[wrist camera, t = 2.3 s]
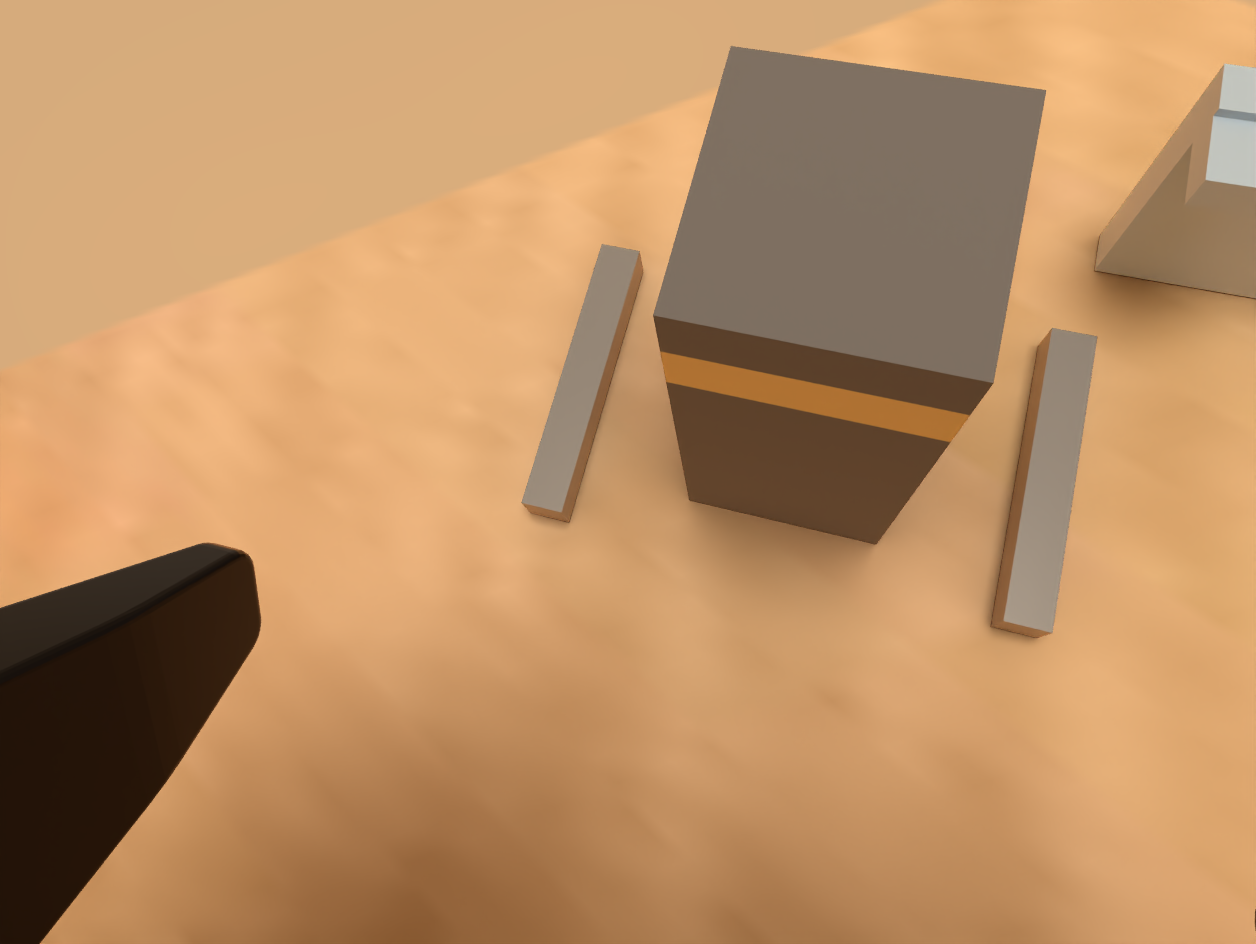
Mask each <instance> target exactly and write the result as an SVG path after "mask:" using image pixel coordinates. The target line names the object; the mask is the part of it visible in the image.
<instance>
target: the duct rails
mask: <svg viewBox="0 0 1256 944" xmlns="http://www.w3.org/2000/svg"><path fill="white" fill-rule="evenodd" d="M1095 271H1101V272H1106V273H1112V274H1118V275H1124V276H1129V277H1135V278H1141V279H1147V280H1153V281H1158V282H1164V283H1170V284H1176V285H1181V286H1187V287H1193V288H1199V289H1204V290H1210V291H1216V292H1222V293H1227V294H1233V295H1239V296H1245V297H1250V298H1256V68H1253V67H1245V66H1238V65H1230V64H1224V65H1223V67H1222V68H1221V69H1220V71H1219V72H1218V73H1217V75H1216V76H1215V78H1214V79H1213V80H1212V82H1211V83H1210V84H1209V86H1208V87H1207V89H1206V90H1205V91H1204V93H1203V94H1202V95H1201V97H1200V98H1199V100H1198V101H1197V102H1196V104H1195V105H1194V107H1193V108H1192V109H1191V111H1190V112H1189V113H1188V115H1187V116H1186V118H1185V119H1184V120H1183V122H1182V123H1181V124H1180V126H1179V127H1178V129H1177V130H1176V131H1175V133H1174V134H1173V135H1172V137H1171V138H1170V140H1169V141H1168V142H1167V144H1166V145H1165V146H1164V148H1163V149H1162V151H1161V152H1160V153H1159V155H1158V156H1157V157H1156V159H1155V160H1154V162H1153V163H1152V164H1151V166H1150V167H1149V168H1148V170H1147V171H1146V173H1145V174H1144V175H1143V177H1142V178H1141V179H1140V181H1139V182H1138V184H1137V185H1136V186H1135V188H1134V189H1133V190H1132V192H1131V193H1130V195H1129V196H1128V197H1127V199H1126V200H1125V201H1124V203H1123V204H1122V206H1121V207H1120V208H1119V210H1118V211H1117V213H1116V214H1115V215H1114V217H1113V218H1112V219H1111V221H1110V222H1109V224H1108V225H1107V226H1106V228H1105V229H1104V230H1103V232H1102V233H1101V235H1100V238H1099V244H1098V251H1097V257H1096V264H1095ZM642 274H643V266H642V261H641V256H640V251H636V250H631V249H625V248H620V247H614V246H609V245H604V244H602V245H601V249H600V252H599V255H598V258H597V261H596V265H595V268H594V271H593V274H592V277H591V281H590V284H589V287H588V290H587V294H586V297H585V300H584V303H583V306H582V310H581V313H580V316H579V319H578V322H577V326H576V329H575V332H574V335H573V339H572V342H571V345H570V348H569V351H568V355H567V358H566V361H565V364H564V367H563V371H562V374H561V377H560V380H559V384H558V387H557V390H556V393H555V396H554V400H553V403H552V406H551V409H550V412H549V416H548V419H547V422H546V425H545V429H544V432H543V435H542V438H541V441H540V445H539V448H538V451H537V454H536V457H535V461H534V464H533V467H532V470H531V474H530V477H529V480H528V483H527V486H526V490H525V493H524V496H523V499H522V502H521V503H522V504H523V505H524V506H525V507H526V508H527V509H528V510H529V512H530V513H533V514H537V515H542V516H546V517H550V518H554V519H558V520H562V521H566V522H569V521H570V517H571V514H572V511H573V507H574V504H575V500H576V497H577V494H578V490H579V487H580V484H581V480H582V477H583V473H584V470H585V467H586V463H587V460H588V456H589V453H590V450H591V446H592V443H593V440H594V436H595V433H596V429H597V426H598V423H599V419H600V416H601V412H602V409H603V406H604V402H605V399H606V396H607V392H608V389H609V385H610V382H611V379H612V375H613V372H614V369H615V365H616V362H617V358H618V355H619V352H620V348H621V345H622V341H623V338H624V335H625V331H626V328H627V325H628V321H629V318H630V314H631V311H632V308H633V304H634V301H635V297H636V294H637V291H638V287H639V284H640V281H641V277H642ZM1096 342H1097V336H1092V335H1087V334H1081V333H1076V332H1071V331H1065V330H1060V329H1055V328H1052V329H1051V330H1050V331H1049V333H1048V334H1047V335H1046V337H1045V338H1044V339H1043V340H1042V342H1041V343H1040V344H1039V346H1038V351H1037V357H1036V362H1035V368H1034V374H1033V380H1032V386H1031V392H1030V398H1029V404H1028V410H1027V416H1026V422H1025V428H1024V433H1023V439H1022V445H1021V451H1020V457H1019V463H1018V469H1017V475H1016V481H1015V487H1014V493H1013V498H1012V504H1011V510H1010V516H1009V522H1008V528H1007V534H1006V540H1005V546H1004V552H1003V558H1002V564H1001V569H1000V575H999V581H998V587H997V593H996V599H995V605H994V611H993V617H992V623H991V627H995V628H999V629H1003V630H1007V631H1011V632H1015V633H1019V634H1023V635H1027V636H1031V637H1036V638H1039V637H1042V636H1045V635H1048V634H1051V633H1052V632H1053V626H1054V619H1055V613H1056V606H1057V599H1058V593H1059V586H1060V580H1061V573H1062V566H1063V560H1064V553H1065V547H1066V540H1067V533H1068V527H1069V520H1070V514H1071V507H1072V500H1073V494H1074V487H1075V481H1076V474H1077V468H1078V461H1079V454H1080V448H1081V441H1082V435H1083V428H1084V421H1085V415H1086V408H1087V402H1088V395H1089V388H1090V382H1091V375H1092V369H1093V362H1094V355H1095V349H1096Z"/></svg>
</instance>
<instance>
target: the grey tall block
mask: <svg viewBox="0 0 1256 944" xmlns="http://www.w3.org/2000/svg"><path fill="white" fill-rule="evenodd" d="M1045 95H1046V90H1041V89H1034V88H1026V87H1019V86H1012V85H1005V84H998V83H991V82H984V81H976V80H969V79H962V78H955V77H948V76H941V75H934V74H926V73H919V72H912V71H905V70H898V69H891V68H884V67H876V66H869V65H862V64H855V63H848V62H841V61H834V60H827V59H819V58H812V57H805V56H798V55H791V54H784V53H777V52H769V51H762V50H755V49H748V48H741V47H733V46H731V48H730V51H729V55H728V59H727V62H726V65H725V69H724V72H723V75H722V79H721V82H720V86H719V89H718V93H717V96H716V100H715V103H714V107H713V110H712V114H711V117H710V121H709V124H708V127H707V131H706V134H705V138H704V141H703V145H702V148H701V152H700V155H699V159H698V162H697V166H696V169H695V172H694V176H693V179H692V183H691V186H690V190H689V193H688V197H687V200H686V204H685V207H684V211H683V214H682V217H681V221H680V224H679V228H678V231H677V235H676V238H675V242H674V245H673V249H672V252H671V256H670V259H669V263H668V266H667V269H666V273H665V276H664V280H663V283H662V287H661V290H660V294H659V297H658V301H657V304H656V308H655V311H654V314H653V317H654V322H655V327H656V332H657V337H658V342H659V347H660V352H661V358H662V363H663V368H664V373H665V378H666V383H667V388H668V393H669V399H670V404H671V409H672V414H673V419H674V424H675V429H676V434H677V439H678V445H679V450H680V455H681V460H682V465H683V470H684V475H685V480H686V485H687V491H688V496H689V500H690V501H695V502H699V503H703V504H707V505H711V506H716V507H720V508H724V509H728V510H733V511H737V512H741V513H745V514H750V515H754V516H758V517H762V518H767V519H771V520H775V521H779V522H783V523H788V524H792V525H796V526H800V527H805V528H809V529H813V530H817V531H822V532H826V533H830V534H834V535H839V536H843V537H847V538H851V539H856V540H860V541H864V542H868V543H872V544H877V543H878V541H879V540H880V539H881V537H882V536H883V534H884V533H885V532H886V530H887V529H888V528H889V526H890V525H891V523H892V522H893V521H894V519H895V518H896V517H897V515H898V514H899V512H900V511H901V510H902V508H903V507H904V506H905V504H906V503H907V501H908V500H909V499H910V497H911V496H912V494H913V493H914V492H915V490H916V489H917V488H918V486H919V485H920V483H921V482H922V481H923V479H924V478H925V477H926V475H927V474H928V472H929V471H930V470H931V468H932V467H933V466H934V464H935V463H936V461H937V460H938V459H939V457H940V456H941V455H942V453H943V452H944V450H945V449H946V448H947V446H948V445H949V444H950V442H951V441H952V439H953V438H954V437H955V435H956V434H957V433H958V431H959V430H960V428H961V427H962V426H963V424H964V423H965V422H966V420H967V419H968V417H969V416H970V415H971V413H972V412H973V410H974V409H975V408H976V406H977V405H978V404H979V402H980V401H981V399H982V398H983V397H984V395H985V394H986V393H987V391H988V390H989V388H990V387H991V386H992V384H993V383H994V377H995V372H996V366H997V360H998V355H999V349H1000V344H1001V338H1002V333H1003V327H1004V322H1005V316H1006V311H1007V305H1008V300H1009V294H1010V288H1011V283H1012V277H1013V272H1014V266H1015V261H1016V255H1017V250H1018V244H1019V239H1020V233H1021V228H1022V222H1023V216H1024V211H1025V205H1026V200H1027V194H1028V189H1029V183H1030V178H1031V172H1032V167H1033V161H1034V156H1035V150H1036V144H1037V139H1038V133H1039V128H1040V122H1041V117H1042V111H1043V106H1044V100H1045Z"/></svg>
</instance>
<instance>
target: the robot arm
mask: <svg viewBox="0 0 1256 944" xmlns="http://www.w3.org/2000/svg"><path fill="white" fill-rule="evenodd" d="M260 627H261V614H260V607H259V600H258V592H257V585H256V578H255V571H254V565H253V561H252V560H251V558H250V556H249V555H248V554H247V553H245V552H244V551H242V550H238V549H235V548H231V547H227V546H223V545H219V544H215V543H201V544H198V545H195V546H192V547H188V548H185V549H182V550H179V551H176V552H173V553H170V554H167V555H163V556H160V557H157V558H154V559H151V560H148V561H145V562H142V563H139V564H135V565H132V566H129V567H126V568H123V569H120V570H117V571H114V572H111V573H107V574H104V575H101V576H98V577H95V578H92V579H89V580H86V581H83V582H79V583H76V584H73V585H70V586H67V587H64V588H61V589H58V590H55V591H51V592H48V593H45V594H42V595H39V596H36V597H33V598H30V599H27V600H23V601H20V602H17V603H14V604H11V605H8V606H5V607H2V608H0V944H40V943H41V941H42V940H43V939H44V938H45V936H46V935H47V934H48V933H49V931H50V930H51V929H52V927H53V926H54V925H55V924H56V922H57V921H58V920H59V919H60V917H61V916H62V915H63V913H64V912H65V911H66V910H67V908H68V907H69V906H70V905H71V903H72V902H73V901H74V900H75V898H76V897H77V896H78V894H79V893H80V892H81V891H82V889H83V888H84V887H85V886H86V884H87V883H88V882H89V880H90V879H91V878H92V877H93V875H94V874H95V873H96V872H97V870H98V869H99V868H100V867H101V865H102V864H103V863H104V861H105V860H106V859H107V858H108V856H109V855H110V854H111V853H112V851H113V850H114V849H115V847H116V846H117V845H118V844H119V842H120V841H121V840H122V839H123V837H124V836H125V835H126V834H127V832H128V831H129V830H130V828H131V827H132V826H133V825H134V823H135V822H136V821H137V820H138V818H139V817H140V816H141V814H142V813H143V812H144V811H145V809H146V808H147V807H148V806H149V804H150V803H151V802H152V800H153V799H154V798H155V796H156V795H157V794H158V792H159V791H160V790H161V788H162V787H163V786H164V784H165V783H166V782H167V780H168V779H169V777H170V776H171V774H172V773H173V771H174V770H175V768H176V767H177V766H178V764H179V763H180V761H181V760H182V758H183V757H184V755H185V754H186V752H187V750H188V749H189V747H190V746H191V744H192V743H193V741H194V739H195V738H196V736H197V735H198V733H199V732H200V730H201V729H202V727H203V725H204V724H205V722H206V721H207V719H208V718H209V716H210V714H211V713H212V711H213V710H214V708H215V707H216V705H217V704H218V702H219V700H220V699H221V697H222V696H223V694H224V693H225V691H226V689H227V688H228V686H229V685H230V683H231V682H232V680H233V679H234V677H235V675H236V674H237V672H238V671H239V669H240V668H241V666H242V664H243V663H244V661H245V660H246V658H247V657H248V655H249V654H250V652H251V650H252V649H253V647H254V645H255V643H256V641H257V639H258V636H259V632H260ZM1255 929H1256V911H1255Z"/></svg>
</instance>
